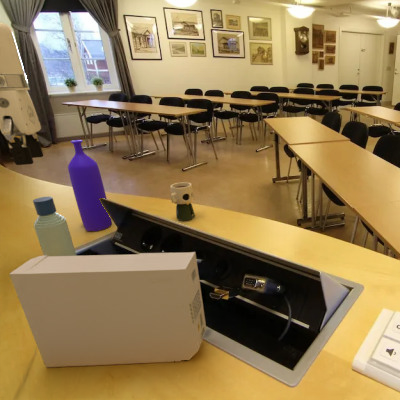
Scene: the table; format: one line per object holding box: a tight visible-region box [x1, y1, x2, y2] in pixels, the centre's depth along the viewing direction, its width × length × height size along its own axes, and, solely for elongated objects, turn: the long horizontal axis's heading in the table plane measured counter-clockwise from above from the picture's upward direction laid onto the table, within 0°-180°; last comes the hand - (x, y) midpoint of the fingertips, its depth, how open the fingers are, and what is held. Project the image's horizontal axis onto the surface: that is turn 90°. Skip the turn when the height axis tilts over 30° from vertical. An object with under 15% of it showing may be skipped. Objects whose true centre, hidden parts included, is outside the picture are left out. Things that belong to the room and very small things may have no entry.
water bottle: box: [33, 211, 78, 256], centre depth 85 cm, size 7×7×19 cm
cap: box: [32, 196, 57, 216], centre depth 82 cm, size 4×4×4 cm
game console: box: [9, 251, 207, 368], centre depth 58 cm, size 6×27×20 cm, turn 94°
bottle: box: [67, 139, 112, 232], centre depth 106 cm, size 8×8×30 cm
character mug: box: [169, 181, 196, 221], centre depth 117 cm, size 11×7×13 cm, turn 163°
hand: (30, 160), depth 78 cm, fingers open, 6 cm apart
